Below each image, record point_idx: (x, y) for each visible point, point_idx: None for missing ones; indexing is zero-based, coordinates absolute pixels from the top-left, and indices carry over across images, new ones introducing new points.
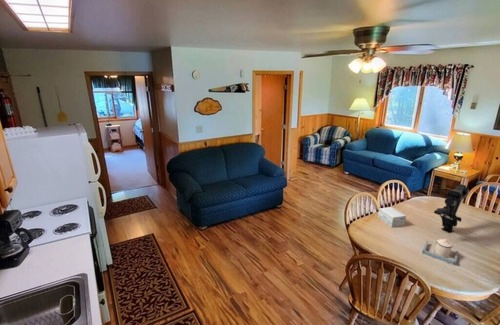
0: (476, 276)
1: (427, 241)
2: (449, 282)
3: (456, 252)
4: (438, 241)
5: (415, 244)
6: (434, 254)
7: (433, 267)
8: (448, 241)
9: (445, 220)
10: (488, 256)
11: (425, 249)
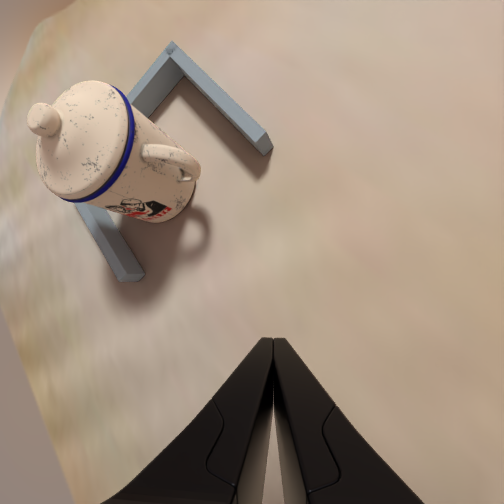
0: (21, 227)
1: (258, 132)
2: (28, 87)
3: (115, 258)
4: (93, 85)
5: (276, 59)
6: (129, 97)
7: (93, 68)
8: (70, 178)
9: (186, 456)
10: (89, 469)
11: (186, 74)
